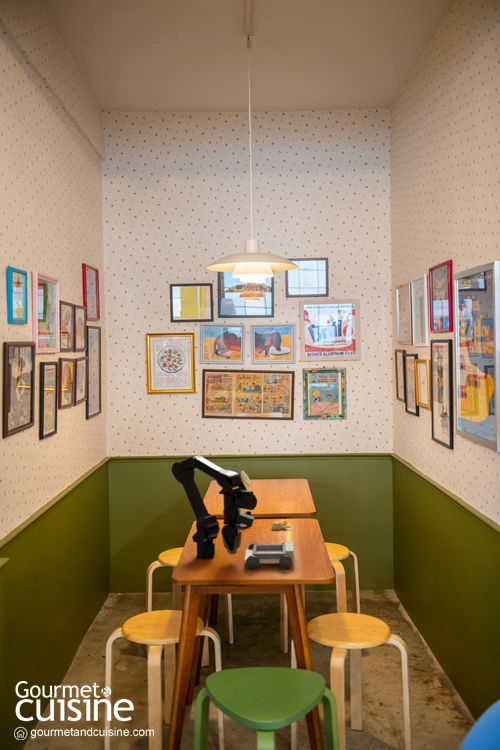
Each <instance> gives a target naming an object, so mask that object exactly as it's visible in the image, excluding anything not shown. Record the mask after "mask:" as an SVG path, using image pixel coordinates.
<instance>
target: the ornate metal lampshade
mask: <svg viewBox="0 0 500 750" xmlns="http://www.w3.org/2000/svg"><path fill="white" fill-rule="evenodd" d="M242 534H243V532H242V531H239V535H238V536H236V537H235V541H234V548H233V551H230V549H229V547H228V545H227V543H226V541H225V539H224V537H223V535H222V534H221V536H222V537H221V538H222V543H223V547H224V548H225V549H226V550H227V554H229V555H236V554H237V552H238V550H239V549H240V547H241V544H242Z"/></svg>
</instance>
